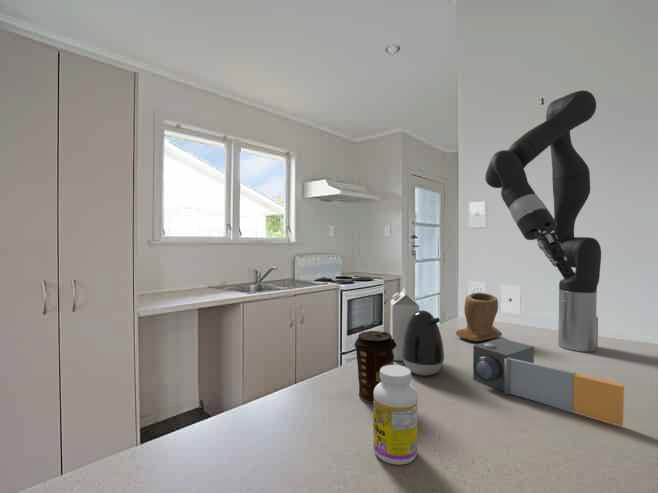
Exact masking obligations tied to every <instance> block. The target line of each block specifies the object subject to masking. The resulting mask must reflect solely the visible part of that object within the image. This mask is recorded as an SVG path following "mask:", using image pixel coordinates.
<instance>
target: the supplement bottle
mask: <svg viewBox="0 0 658 493" xmlns="http://www.w3.org/2000/svg"><path fill="white" fill-rule="evenodd" d="M380 379H381V382H380V383H379V384H377V385H376V387H375V389H374V403H373V410H372V412H373V418H372V419H373V421H372V422H373V425H372V426H373V429H372V430H373V431H372V432H373V433H372V434H373V435H372V437H373V438H372V439H373V440H372V441H373V442H372V445H373V451H374V453H375V455H376V456H377V457H378V458H379V459H380V460H381V461H383V462H385V463H387V464H389V465H397V466H399V465H400V466H401V465H406V464H409V463H411V462H412V461H414V460H415V459H416V457H417V455H418V403H419V402H418V400H419V399H418V397H419V395H418V392H417V390H416V388H415V387H414V386H413V385H412V384H411V381H412V372H411V371H410V370H409V369H408V368H407V367H406V366H405V365H399V364H393V365H387V366H384V367H382V368H381V369H380Z"/></svg>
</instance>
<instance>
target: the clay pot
mask: <svg viewBox="0 0 658 493" xmlns="http://www.w3.org/2000/svg"><path fill="white" fill-rule="evenodd" d="M463 311H464V316H465V321H466V327H465V328H462V329H459V330H456V331H455V335H456V336H457V337H459V338H461V339H463V340H468V341H471V342H481V341H482V342H483V341H487V340H491V339H496V338H498V337H502V336H503V333H502V331H500V330H499V329H498V328H497V327H495V326H494V322H495V319H496V316H497V313H498V311H499V300H498V298H497V297H496V296H494V295H492V294H490V293H486V292H473V293H471V294H468V295H467V296H466V297H465V300H464V310H463Z"/></svg>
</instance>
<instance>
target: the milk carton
mask: <svg viewBox="0 0 658 493" xmlns="http://www.w3.org/2000/svg"><path fill="white" fill-rule="evenodd" d="M391 297H392V299H391V300H390V307H389V308H390V312H389V314H390V316H389V317H390V318H389V319H390V320H389V322H390V326H389V329H390V330H389V331H390V332H389V334H391V336H392V339H394V341H395V343H396V345H397V346H396V347H395V348H394V349H393V354H394V361H399V362H400V361H401V362H404V361H403V358H402V345H403V339H404V335H405V331H406V328H407V325H408V323H409V321H410V319H411V317H412V316H413V314H414V313H416V312H417V311H420V305H419V303H417V301H415V299H413V298H412V297H411V296H410V295H409V294H407V289H405V287H404V286H403V287H402V291H400V293H399V292H396V293H394V294H393V295H392V296H391Z"/></svg>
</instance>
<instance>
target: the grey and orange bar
mask: <svg viewBox="0 0 658 493" xmlns="http://www.w3.org/2000/svg"><path fill="white" fill-rule="evenodd" d="M503 392H504V394H506V395H510V394H511V395H514V396H517V397H522V398H524V399H527V400H531V401H534V402H535V401H536V402H538V403H541V404H546V405H548V406H551V407H554V408H555V407H556V408H559V409H562V410H566V411H569V412H572V413H577V414H578V415H583V416H586V417H589V418H593V419H597V420H600V421H604V422H607V423H610V424H614V425H616V426H617V425H618V426H620V427H623V426H624V412H625V409H624V408H625V406H624V404H625V403H624V402H625V384H623V383H620V382H619V383H618V382H614V381H609V380H605V379H601V378H597V377H591V376H588V375H582V374H578V373H576V372H575V371H569V370H565V369H561V368H556V367H552V366H549V365H542V364H538V363H535V362H534V363H530V362H526V361H521V360H517V359H512V358H505V368H504V391H503Z"/></svg>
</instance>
